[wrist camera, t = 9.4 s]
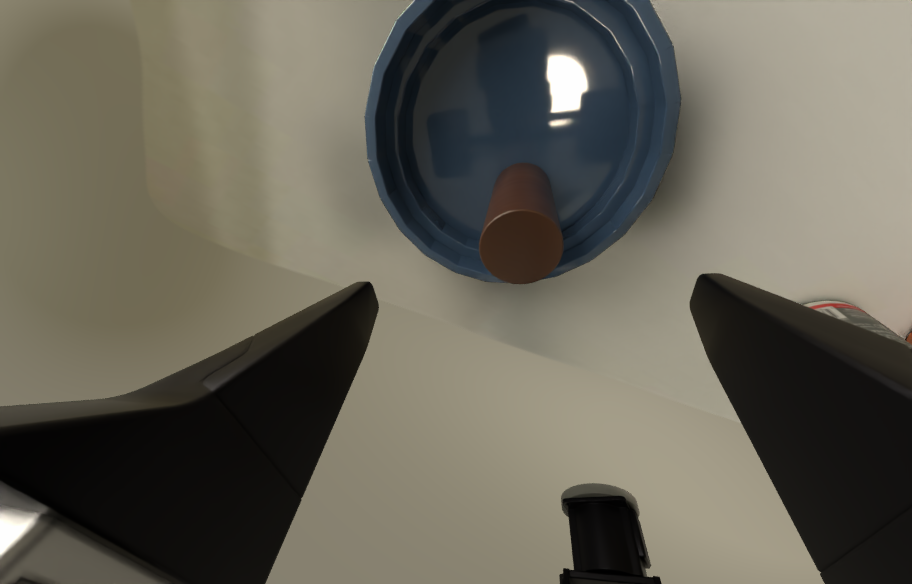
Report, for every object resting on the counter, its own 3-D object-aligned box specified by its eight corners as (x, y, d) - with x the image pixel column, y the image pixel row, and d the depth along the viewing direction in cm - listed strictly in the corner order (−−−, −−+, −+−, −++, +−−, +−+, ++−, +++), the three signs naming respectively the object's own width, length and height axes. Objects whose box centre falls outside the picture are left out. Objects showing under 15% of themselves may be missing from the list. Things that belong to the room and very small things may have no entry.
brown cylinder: (506, 226, 18) (498, 294, 13) (484, 177, 17) (464, 229, 11) (558, 205, 17) (574, 270, 12) (538, 151, 16) (547, 195, 10)
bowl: (458, 282, 22) (449, 311, 19) (340, 78, 16) (305, 79, 14) (673, 206, 17) (701, 231, 14) (612, -127, 11) (639, -188, 9)
